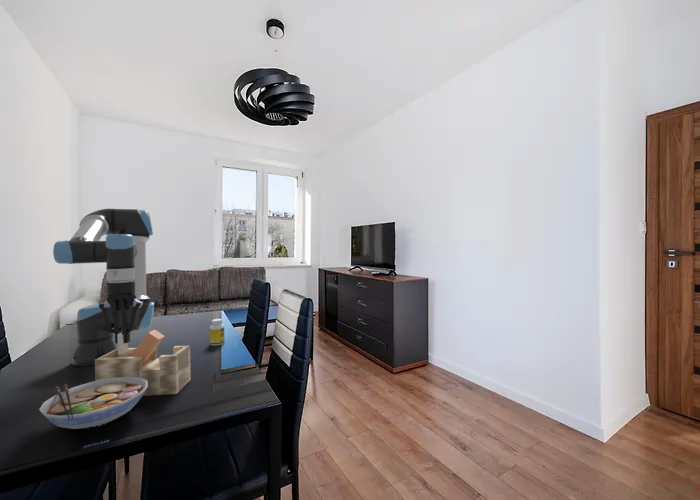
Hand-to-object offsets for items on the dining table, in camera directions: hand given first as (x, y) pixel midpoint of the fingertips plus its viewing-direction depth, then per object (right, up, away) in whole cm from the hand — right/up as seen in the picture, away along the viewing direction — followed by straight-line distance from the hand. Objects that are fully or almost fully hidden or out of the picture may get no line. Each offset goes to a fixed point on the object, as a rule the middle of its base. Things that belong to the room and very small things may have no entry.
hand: (122, 352), depth 105 cm
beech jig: (+7, -12, +1) cm, 14 cm away
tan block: (+7, -3, 0) cm, 7 cm away
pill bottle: (+11, -12, +49) cm, 51 cm away
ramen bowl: (+7, -12, -19) cm, 24 cm away
